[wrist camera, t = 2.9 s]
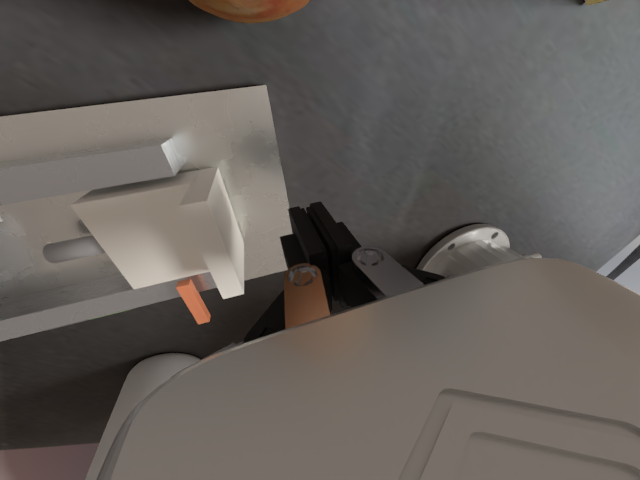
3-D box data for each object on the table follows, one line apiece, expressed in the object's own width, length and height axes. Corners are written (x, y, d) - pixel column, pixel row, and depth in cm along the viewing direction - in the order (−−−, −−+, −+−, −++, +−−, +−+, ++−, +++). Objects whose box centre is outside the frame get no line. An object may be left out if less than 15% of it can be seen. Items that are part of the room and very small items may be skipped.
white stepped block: (218, 166, 15) (206, 200, 11) (256, 280, 21) (260, 334, 16) (29, 198, 14) (-80, 255, 9) (126, 313, 19) (89, 384, 15)
